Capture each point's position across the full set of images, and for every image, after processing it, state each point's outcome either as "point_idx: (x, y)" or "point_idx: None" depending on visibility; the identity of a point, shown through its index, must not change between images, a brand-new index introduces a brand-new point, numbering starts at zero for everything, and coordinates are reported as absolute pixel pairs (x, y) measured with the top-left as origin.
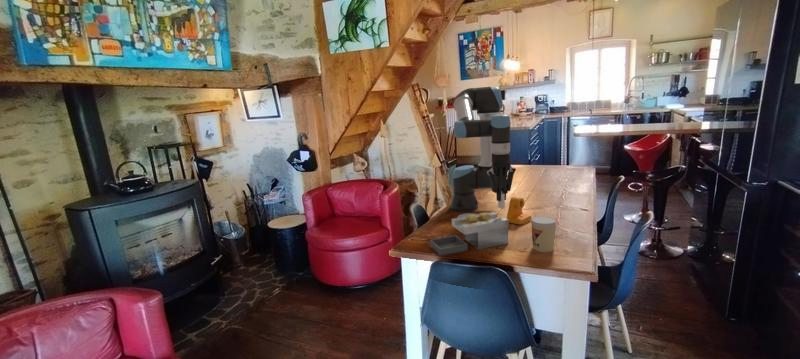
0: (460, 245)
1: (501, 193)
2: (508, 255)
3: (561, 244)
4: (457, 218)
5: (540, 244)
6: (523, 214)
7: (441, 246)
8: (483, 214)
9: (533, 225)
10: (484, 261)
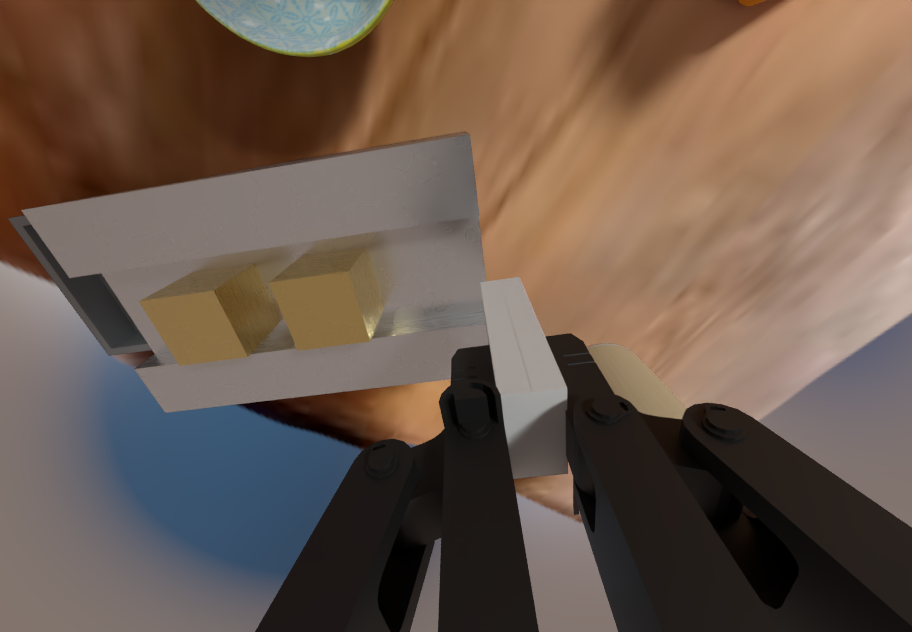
0: None
1: (526, 453)
2: (431, 396)
3: (697, 365)
4: (81, 217)
5: None
6: None
7: None
8: (308, 324)
9: None
10: (325, 414)
